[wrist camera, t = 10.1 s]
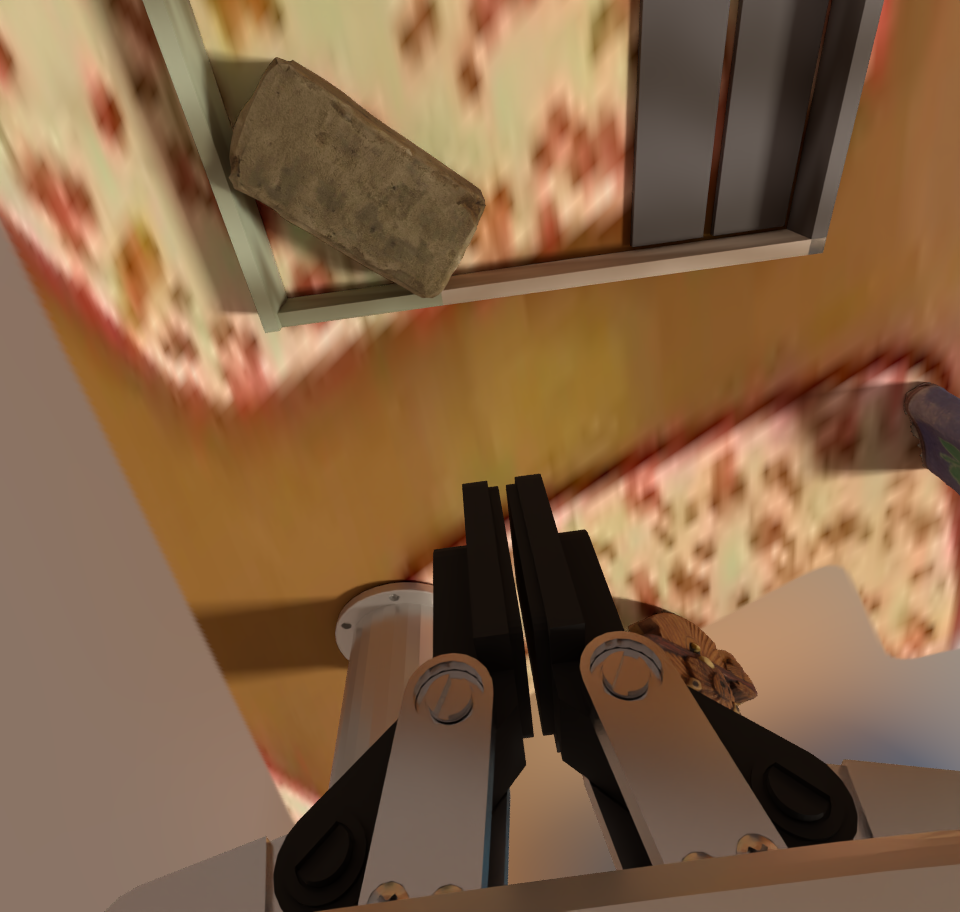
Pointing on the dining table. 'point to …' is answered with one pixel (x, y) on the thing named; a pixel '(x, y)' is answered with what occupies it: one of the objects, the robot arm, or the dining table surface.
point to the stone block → (352, 180)
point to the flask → (936, 430)
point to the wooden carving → (698, 659)
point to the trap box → (657, 150)
